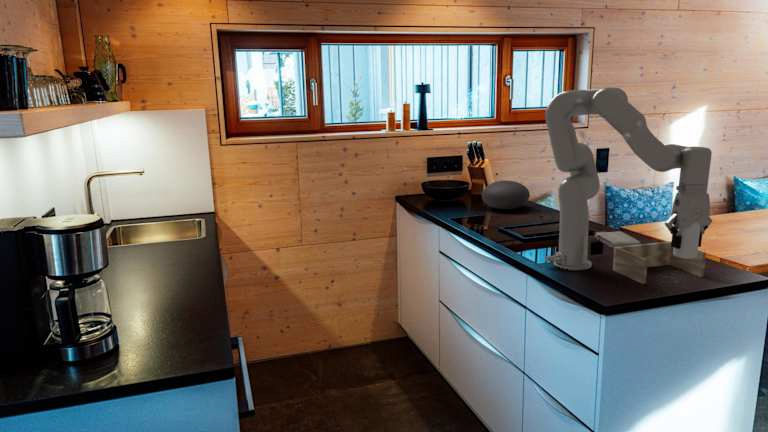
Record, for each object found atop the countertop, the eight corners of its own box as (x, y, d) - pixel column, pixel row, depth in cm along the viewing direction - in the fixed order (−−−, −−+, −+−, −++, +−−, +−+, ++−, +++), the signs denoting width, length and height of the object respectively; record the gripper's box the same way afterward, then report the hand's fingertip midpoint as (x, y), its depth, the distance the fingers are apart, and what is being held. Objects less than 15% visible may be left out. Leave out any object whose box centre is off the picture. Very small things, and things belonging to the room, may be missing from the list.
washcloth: (620, 236, 232) (620, 229, 231) (642, 247, 214) (643, 240, 214) (592, 237, 231) (592, 230, 230) (612, 249, 213) (613, 241, 213)
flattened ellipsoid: (473, 211, 289) (473, 183, 286) (493, 202, 309) (493, 176, 306) (518, 215, 275) (519, 185, 272) (536, 206, 295) (537, 178, 292)
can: (699, 260, 166) (704, 221, 163) (676, 258, 167) (680, 220, 164) (692, 253, 172) (697, 216, 169) (670, 252, 173) (674, 215, 171)
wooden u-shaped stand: (642, 284, 173) (644, 259, 172) (612, 269, 188) (613, 247, 186) (703, 276, 178) (705, 252, 176) (670, 263, 193) (671, 241, 191)
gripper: (676, 192, 159) (669, 252, 163) (727, 189, 163) (719, 248, 167) (658, 188, 166) (652, 245, 171) (707, 185, 170) (700, 241, 174)
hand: (685, 246), depth 169 cm, fingers closed on can, 6 cm apart
